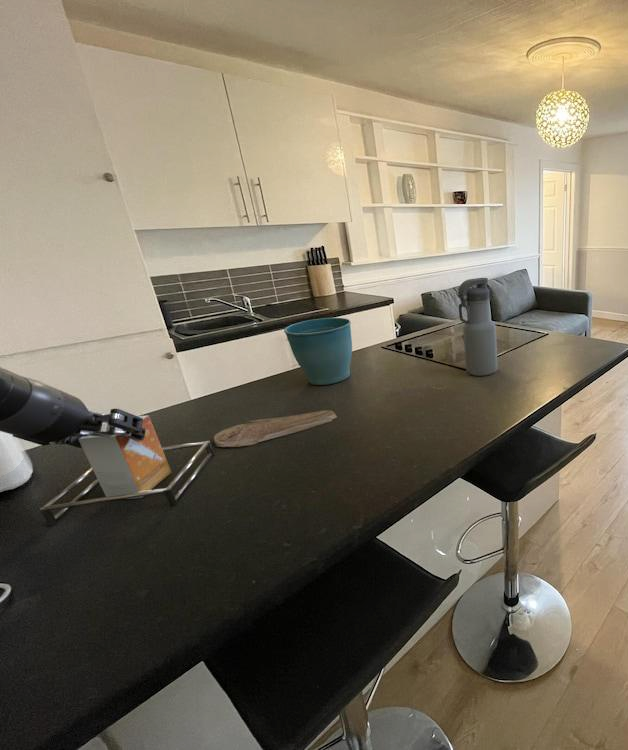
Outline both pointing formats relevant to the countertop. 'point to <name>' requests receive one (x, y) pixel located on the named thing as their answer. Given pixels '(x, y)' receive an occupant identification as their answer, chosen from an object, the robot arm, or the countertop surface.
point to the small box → (126, 461)
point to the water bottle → (478, 328)
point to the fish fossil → (270, 428)
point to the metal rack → (168, 491)
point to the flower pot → (322, 348)
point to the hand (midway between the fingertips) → (114, 438)
